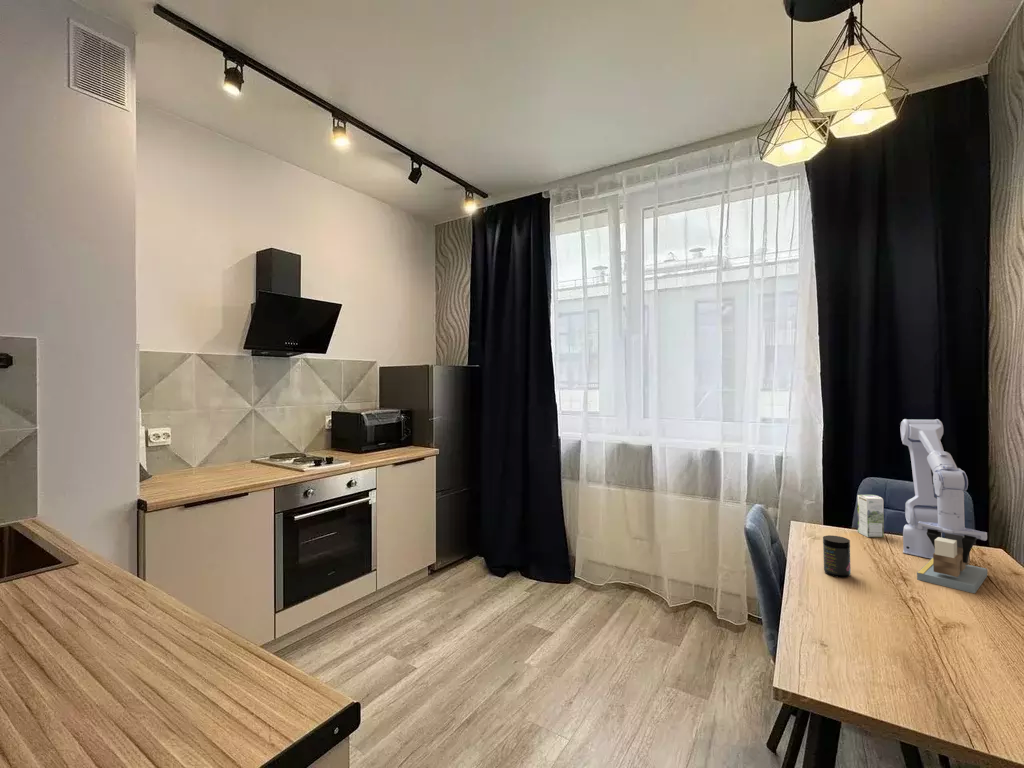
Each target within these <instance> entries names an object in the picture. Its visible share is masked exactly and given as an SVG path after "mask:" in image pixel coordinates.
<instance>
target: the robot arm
mask: <svg viewBox="0 0 1024 768" xmlns="http://www.w3.org/2000/svg"><path fill="white" fill-rule="evenodd" d="M899 428H900V438H901V442H902V445H904V446H907V447H908V451H909V455H910V461H911V463H910V464H911V470H912V471H911V472H912V480H913V489H914V496H913V497H912V498H909V499H907V500H906V502H905V509H904V515H905V519H906V520H905V521H906V522H907V523H906V524H905V525H904V526H903V530H902V545H903V546H902V549H903V550H902V553H903V554H906V555H911V556H915V557H916V556H917V557H921V558H926V559H930V560H931V559H932V558H933V554H934V553H935V539H936V538H937V537H941V538H943V533H944V534H945V533H948V534H954V535H960V536H964V537H963V538H962V544H963V562H964V563H967V562H968V557H969V553H970V554H971V551H972V548H973V546H974V545H975V543H976V541H977V540H981V541H984V542H985V541H987V540H988V532H986V531H983V530H982V531H980V530H976V529H974V528H973V529H972V528H969V527H965V526H966V525H965V523H966V522H965V491H966V492H967V490H968V486H969V479H968V476H967V474H966V472H965V470H962V469H961V468H960V467H958V466H957V464H956V462H955V460H954V459H953V456H952V455H951V453H950V452H948V451H944V447H943V444H942V442H941V440H942V437H943V435H944V425H943V422H942V421H941V420H940V419H938V418H936V419H907V418H904V419H902V421H901V422H900V427H899ZM935 495H936V497H935Z"/></svg>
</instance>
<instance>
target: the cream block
mask: <svg viewBox="0 0 1024 768" xmlns="http://www.w3.org/2000/svg"><path fill="white" fill-rule="evenodd" d="M935 554H936V555H941V556H946V557H951V558H955V557H956V556H957V540H952V539H946V538H945V537H942V538H941V537H937V538H936V539H935Z"/></svg>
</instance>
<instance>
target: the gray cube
mask: <svg viewBox="0 0 1024 768" xmlns="http://www.w3.org/2000/svg"><path fill="white" fill-rule="evenodd" d="M963 537H964V536H960V535H954V534H948V533H944V538H946V539H952V540H957V547H960V548H963V544H962V538H963Z"/></svg>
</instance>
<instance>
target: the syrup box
mask: <svg viewBox="0 0 1024 768" xmlns="http://www.w3.org/2000/svg"><path fill="white" fill-rule="evenodd" d="M884 504H885V503H884V498H883V497H881V496H879V495H876V494H857V533H858V532H859V534H860V535H862V536H863V537H867V538H884V537H885V534H884V533H885V531H884V529H885V525H884V523H885V521H884V519H885V518H884V515H885V514H884V513H885V512H884Z"/></svg>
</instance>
